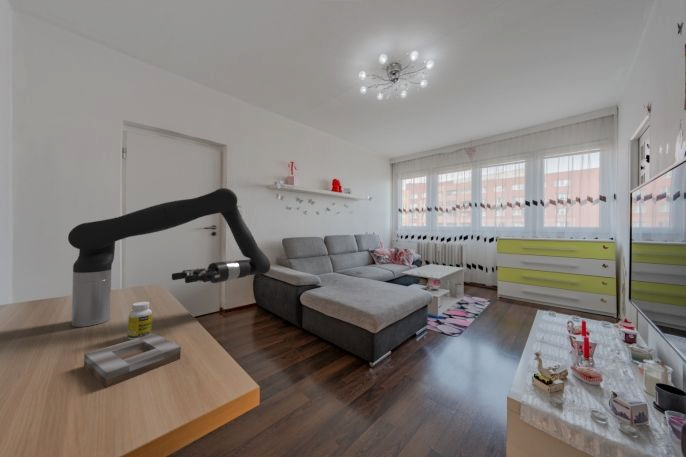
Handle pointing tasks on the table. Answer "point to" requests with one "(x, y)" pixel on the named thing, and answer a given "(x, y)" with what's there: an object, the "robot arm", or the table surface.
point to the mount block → (130, 358)
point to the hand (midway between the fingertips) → (178, 278)
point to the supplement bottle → (139, 321)
